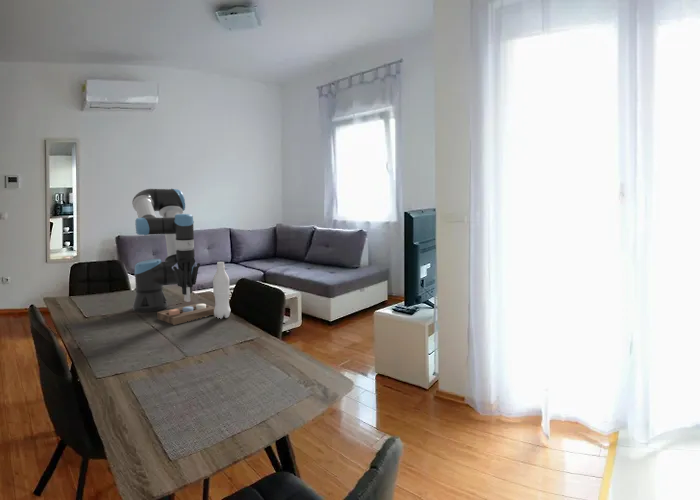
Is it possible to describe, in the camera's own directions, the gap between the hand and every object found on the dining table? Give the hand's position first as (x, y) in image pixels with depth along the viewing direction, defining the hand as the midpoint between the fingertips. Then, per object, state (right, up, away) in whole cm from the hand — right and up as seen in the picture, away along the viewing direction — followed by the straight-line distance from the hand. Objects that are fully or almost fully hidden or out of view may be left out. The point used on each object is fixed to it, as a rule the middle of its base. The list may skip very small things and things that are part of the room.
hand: (187, 301), depth 186 cm
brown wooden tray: (0, -7, 0) cm, 7 cm away
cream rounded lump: (+4, -6, +5) cm, 9 cm away
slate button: (0, -7, 0) cm, 7 cm away
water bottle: (+16, -7, -1) cm, 18 cm away
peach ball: (-4, -8, -5) cm, 10 cm away
